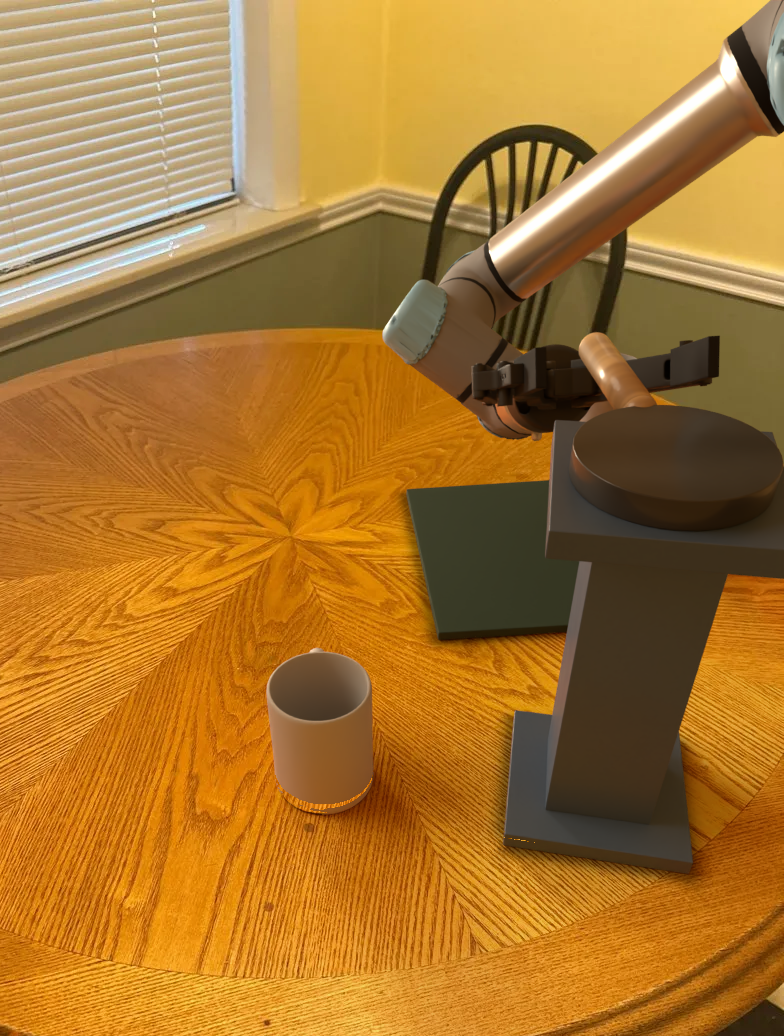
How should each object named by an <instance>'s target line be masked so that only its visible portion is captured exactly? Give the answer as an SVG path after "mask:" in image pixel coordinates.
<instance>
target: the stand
mask: <svg viewBox="0 0 784 1036" xmlns="http://www.w3.org/2000/svg"><path fill="white" fill-rule="evenodd" d="M584 423H586V422H582V421H564V420H555V423H554V430H553V432H552V438H551V447H550V463H549V464H550V465H549V478H548V480H549V496H548V514H547V531H546V548H545V558H548V559H560V560H571V561H579V567H578V573H577V578H576V584H575V589H574V595H573V601H572V606H571V612H570V618H569V623H568V629H567V632H566V634H565V635H566V636H565V641H564V647H563V654H562V658H561V662H560V669H559V675H558V680H557V686H556V692H555V697H554V702H553V709H552V714H549V713H541V712H533V711H526V710H514V712H513V713H514V715H513V721H512V732H511V741H510V742H511V744H510V756H509V768H508V780H507V790H506V792H507V793H506V802H505V815H504V826H503V828H504V829H503V838H502V839H503V840H502V846H506V847H513V848H519V849H525V850H532V851H539V852H545V853H550V854H551V853H552V854H556V855H557V854H558V855H564V856H571V857H576V858H583V859H591V860H595V861H596V860H597V861H602V862H609V863H616V864H622V865H628V866H635V867H642V868H648V869H653V870H661V871H666V872H667V871H668V872H674V873H681V874H685V875H686V874H688V875H689V874H690V872H691V870H692V867H693V865H694V858H693V849H692V840H691V839H692V838H691V829H690V821H689V820H690V819H689V810H688V801H687V792H686V783H685V773H684V765H683V763H684V762H683V756H682V754H683V753H682V745H681V737H680V736H681V735H680V728H681V725H682V722H683V719H684V716H685V713H686V710H687V707H688V704H689V701H690V697H691V694H692V691H693V688H694V684H695V681H696V677H697V675H698V671H699V668H700V665H701V662H702V658H703V655H704V652H705V650H706V646H707V643H708V640H709V636H710V634H711V630H712V627H713V623H714V621H715V617H716V614H717V611H718V608H719V605H720V602H721V597H722V595H723V592H724V589H725V587H726V582H727V580H728V576H729V575H732V576H733V575H735V576H744V577H745V576H746V577H755V578H765V579H767V578H768V579H780V580H784V465H783V470H782V473H781V476H780V479H779V482H778V485H777V488H776V491H775V494H774V497H773V500H772V502H771V504H770V505H769V506H768V508H767V509H766V510H765V511H763V512H762V513H761V514H760V515H759V516H757V517H755V518H753V519H752V520H749V521H747V522H745V523H742V524H739V525H736V526H732V527H728V528H723V529H717V530H707V531H676V530H667V529H659V528H653V527H648V526H644V525H640V524H636V523H632V522H629V521H626V520H623V519H620V518H618V517H615V516H613V515H610V514H608V513H606V512H604V511H602V510H600V509H599V508H597V507H595V506H594V505H592V504H591V503H589V502H588V501H587V500H586V499H585V498H583V497H582V496H581V495H580V494H579V493H578V491H577V490H576V489H575V487H574V486H573V484H572V482H571V479H570V477H569V464H570V458H571V452H572V445H573V439H574V436H575V434H576V432H577V431H578V430H579V428H580V427H581V426H582V425H583V424H584ZM760 431H761V430H760ZM761 432H762V433H763V434H765V435H766V436H767V437H769V438H770V439H771V440H772V441H773V442H774V443H775V445H776V446H777V447H778V444H777V442H776V438H775V435H774V432H773V431H761ZM505 819H506V820H505ZM504 831H505V832H504ZM504 837H505V838H504ZM508 838H512V839H508ZM514 839H520V840H514ZM521 840H526V841H521ZM527 841H529V842H527ZM534 842H535V843H534Z"/></svg>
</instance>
